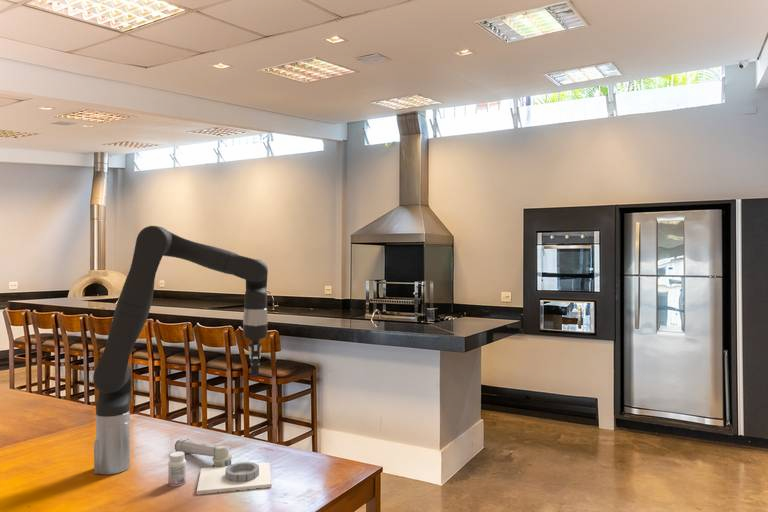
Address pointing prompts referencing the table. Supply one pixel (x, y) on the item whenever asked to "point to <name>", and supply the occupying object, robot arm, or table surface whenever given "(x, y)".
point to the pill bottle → (177, 469)
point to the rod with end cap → (205, 451)
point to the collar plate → (223, 485)
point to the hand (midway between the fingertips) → (254, 373)
